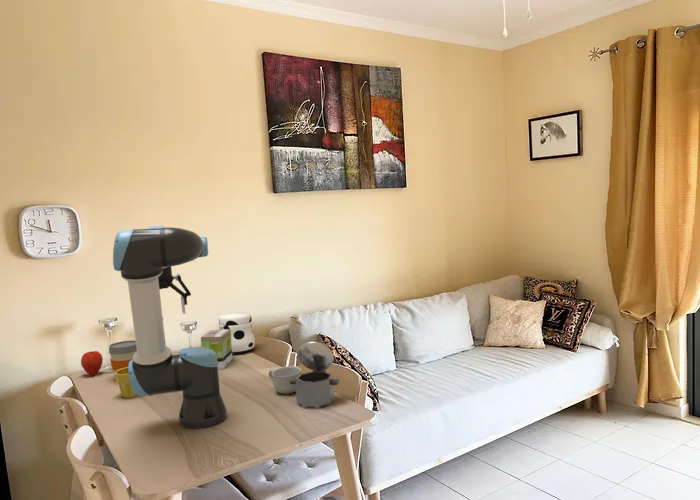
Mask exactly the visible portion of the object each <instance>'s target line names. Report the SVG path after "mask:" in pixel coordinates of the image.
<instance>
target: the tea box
mask: <svg viewBox="0 0 700 500" xmlns="http://www.w3.org/2000/svg"><path fill="white" fill-rule="evenodd" d="M200 344H201V345H200V346H201V348H208V349H211V350H213V351H214V352H215V353H216V355H217V362H218V370H225V368H226V367H227V366H228V365H229V364H230V363H231V362H232V361H233V354H232V345H231V330H230V329H227V330H220V329H211V330H210V329H209V331H207V332H206V333H204V334H203V335H201V336H200ZM231 360H232V361H231Z"/></svg>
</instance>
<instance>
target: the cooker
mask: <svg viewBox="0 0 700 500" xmlns="http://www.w3.org/2000/svg"><path fill="white" fill-rule="evenodd" d="M339 383H340V379H338V378H337V379H336V378H334V374H332V373H330V372H328V371H327V369H326V370H322V371H315V370H312V371H308V372H303V373H301V374H300V375H299V376H298V377H297V378H296V379H292V380H291V381H290V384H296V392H295V394H296V395H295V396H296V405H297V404H298V405H297V406H298V407H300V406H301V407H300V408H302V407H303V408H302V409H307V408H319V409H321V408H320V407H323V408H326V407H325V406H327V407H329V406H328V405H330V406H331V405H332V404H334V402H335V389H334V386H338V385H339Z"/></svg>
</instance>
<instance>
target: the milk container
mask: <svg viewBox="0 0 700 500" xmlns="http://www.w3.org/2000/svg"><path fill="white" fill-rule="evenodd" d="M252 321H253V319H252V313H251V312H245V311H243V312H242V311H238V312H237V311H236V312H235V311H234V312H229V313H224V314H221V315H219V316H218V324H219V325H218V328H219V330H227V329H230V330H231V345H232V355H233V354H235V355H236V354H242V353H246V352H249V351H250V352H251V351H252V350H253V349H254V348H255V345H256V338H255V335H254V332H253V322H252Z"/></svg>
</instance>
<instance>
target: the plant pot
mask: <svg viewBox="0 0 700 500" xmlns="http://www.w3.org/2000/svg"><path fill="white" fill-rule="evenodd" d="M114 377H115V379H114V380H115V382H116V383H117V385H118V388H119V391H120V394H121V396H122V397H123V398H124V399H130V398H136V397H139V396H138V395H137V394H135V393H134V391H133V389H132V387H131V384H130V379H129V372H128V367H126V368H122V369H119V370H117V371H116V372H115V373H114Z"/></svg>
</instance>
